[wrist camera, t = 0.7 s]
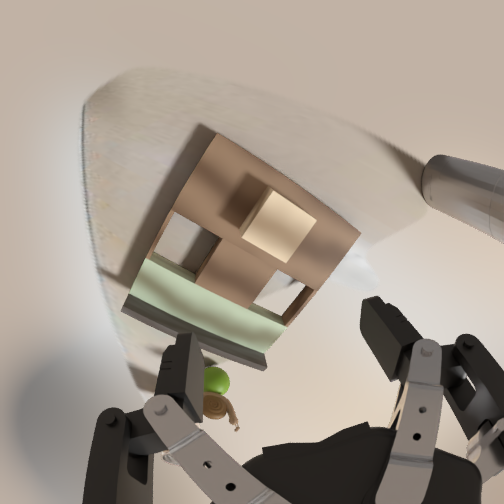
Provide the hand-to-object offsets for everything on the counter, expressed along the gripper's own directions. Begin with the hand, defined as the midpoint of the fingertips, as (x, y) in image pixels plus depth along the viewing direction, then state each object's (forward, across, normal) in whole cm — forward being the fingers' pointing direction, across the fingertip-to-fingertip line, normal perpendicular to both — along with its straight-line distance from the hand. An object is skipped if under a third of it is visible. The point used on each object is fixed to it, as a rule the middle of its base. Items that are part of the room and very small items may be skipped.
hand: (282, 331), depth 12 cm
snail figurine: (+23, +10, +27) cm, 37 cm away
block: (+21, -3, +2) cm, 21 cm away
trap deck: (+23, +2, +7) cm, 24 cm away
